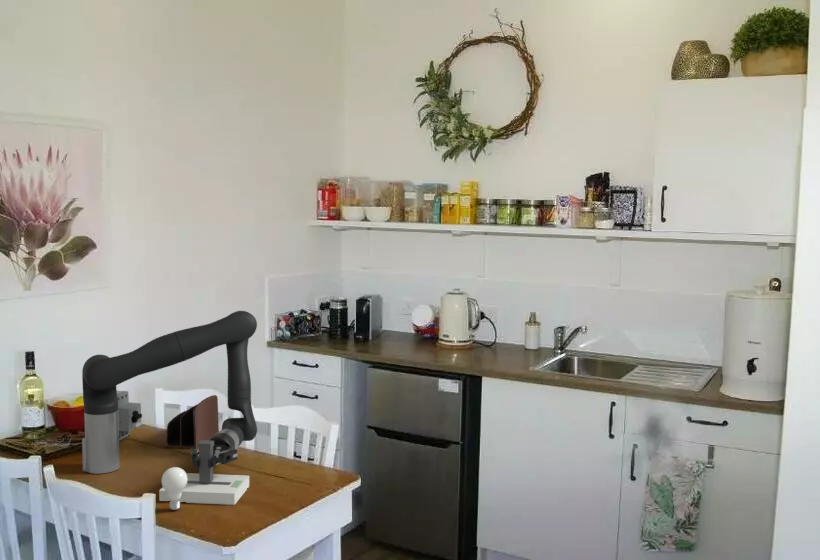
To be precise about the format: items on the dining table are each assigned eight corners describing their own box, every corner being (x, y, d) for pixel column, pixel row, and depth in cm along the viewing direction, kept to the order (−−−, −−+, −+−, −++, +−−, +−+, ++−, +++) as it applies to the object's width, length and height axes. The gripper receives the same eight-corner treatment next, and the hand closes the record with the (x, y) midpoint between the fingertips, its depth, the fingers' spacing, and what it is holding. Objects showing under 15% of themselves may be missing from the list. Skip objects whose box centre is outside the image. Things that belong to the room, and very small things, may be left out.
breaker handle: (198, 483, 219) (197, 443, 217) (202, 479, 221) (201, 440, 220) (210, 483, 218) (210, 444, 217) (214, 479, 221) (214, 440, 220)
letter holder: (219, 432, 278) (218, 392, 277) (196, 450, 258) (195, 406, 257) (191, 431, 279) (190, 390, 278) (166, 448, 260) (165, 405, 258)
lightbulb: (164, 505, 211) (164, 463, 210) (189, 504, 212) (189, 463, 211) (159, 514, 205) (158, 472, 204) (185, 514, 206) (184, 471, 205)
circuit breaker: (134, 443, 264) (133, 397, 263) (94, 440, 267) (93, 395, 266) (146, 436, 271) (145, 392, 270) (107, 433, 274) (106, 389, 273)
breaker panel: (159, 501, 214) (159, 490, 214) (178, 483, 228) (178, 472, 228) (234, 504, 213) (234, 493, 212) (249, 486, 226) (249, 475, 226)
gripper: (198, 431, 234) (176, 449, 217) (246, 433, 233) (228, 451, 215) (198, 457, 234) (176, 477, 217) (247, 459, 233) (228, 479, 216)
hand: (202, 464), depth 216 cm, fingers closed on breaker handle, 3 cm apart
